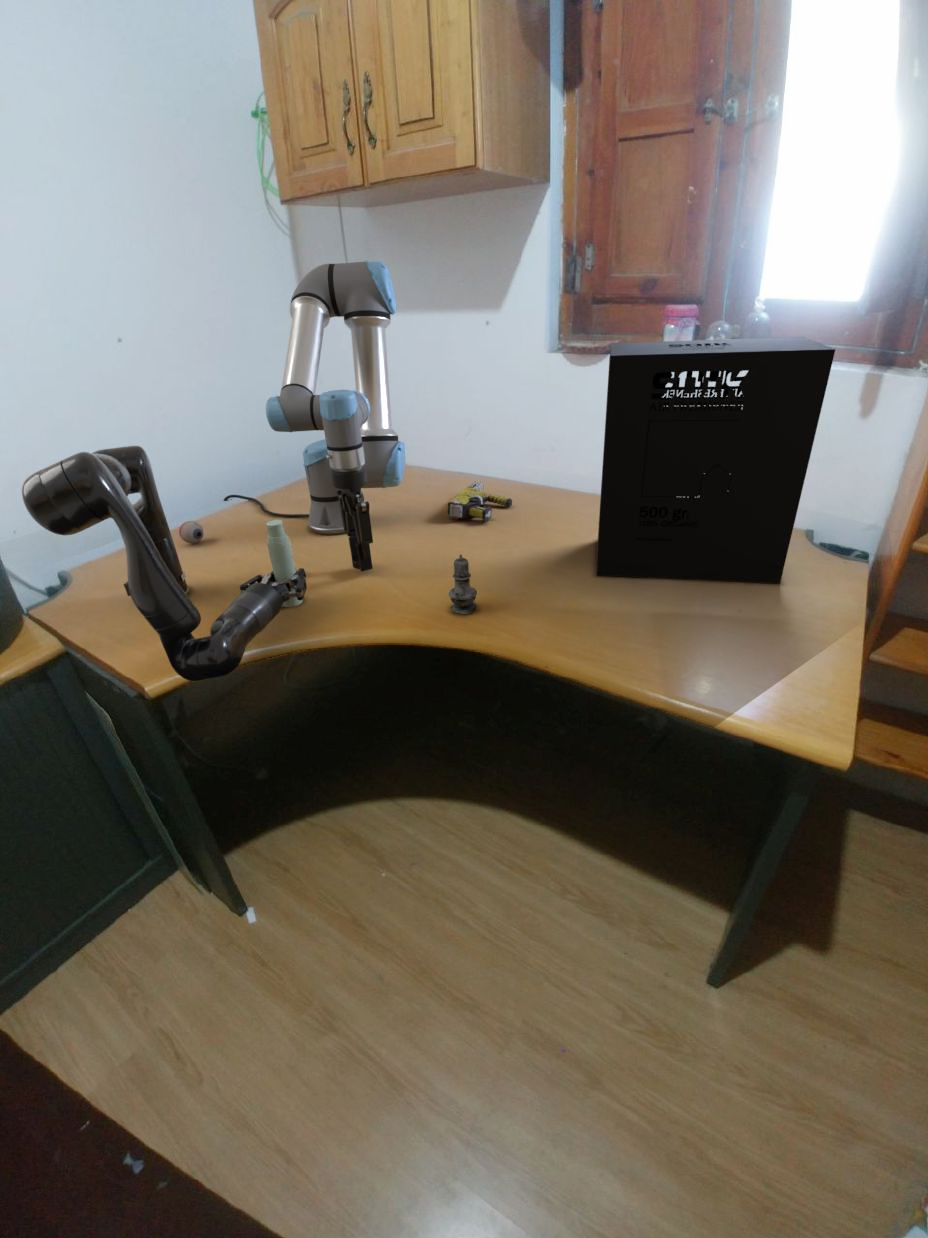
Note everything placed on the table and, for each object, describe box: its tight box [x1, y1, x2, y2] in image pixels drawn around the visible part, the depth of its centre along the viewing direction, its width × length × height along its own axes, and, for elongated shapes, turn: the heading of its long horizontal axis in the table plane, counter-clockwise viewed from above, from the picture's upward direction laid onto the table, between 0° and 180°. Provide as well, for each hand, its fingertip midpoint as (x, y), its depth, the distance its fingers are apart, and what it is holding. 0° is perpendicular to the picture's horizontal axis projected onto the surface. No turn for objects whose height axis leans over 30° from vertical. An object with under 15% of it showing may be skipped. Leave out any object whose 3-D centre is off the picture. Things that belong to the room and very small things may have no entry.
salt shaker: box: [448, 554, 478, 615], centre depth 121 cm, size 6×6×12 cm
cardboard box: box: [595, 336, 836, 584], centre depth 127 cm, size 38×20×45 cm, turn 78°
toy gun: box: [446, 480, 513, 523], centre depth 174 cm, size 5×24×15 cm
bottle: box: [265, 519, 304, 608], centre depth 126 cm, size 5×5×18 cm
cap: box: [351, 555, 360, 570], centre depth 141 cm, size 4×4×2 cm
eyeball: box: [178, 520, 205, 545], centre depth 161 cm, size 6×6×6 cm
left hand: (291, 571), depth 130 cm, fingers closed on bottle, 4 cm apart
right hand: (362, 565), depth 142 cm, fingers closed on cap, 4 cm apart
